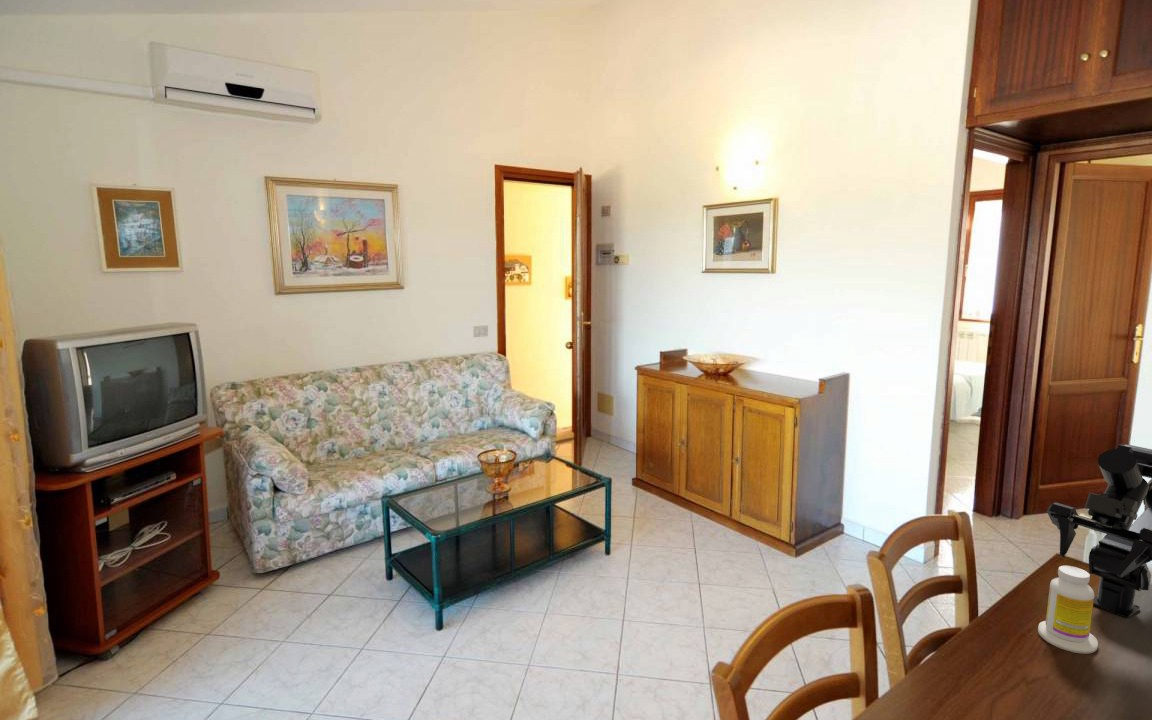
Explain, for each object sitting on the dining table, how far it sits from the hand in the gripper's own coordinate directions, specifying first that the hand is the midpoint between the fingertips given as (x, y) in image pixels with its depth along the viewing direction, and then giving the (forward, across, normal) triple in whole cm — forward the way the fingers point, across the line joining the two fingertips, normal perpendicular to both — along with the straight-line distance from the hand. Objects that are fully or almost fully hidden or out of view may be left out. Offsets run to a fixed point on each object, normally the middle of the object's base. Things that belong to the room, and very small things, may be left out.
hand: (1089, 566), depth 119 cm
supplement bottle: (+13, 0, +5) cm, 14 cm away
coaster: (+14, 0, +6) cm, 15 cm away
